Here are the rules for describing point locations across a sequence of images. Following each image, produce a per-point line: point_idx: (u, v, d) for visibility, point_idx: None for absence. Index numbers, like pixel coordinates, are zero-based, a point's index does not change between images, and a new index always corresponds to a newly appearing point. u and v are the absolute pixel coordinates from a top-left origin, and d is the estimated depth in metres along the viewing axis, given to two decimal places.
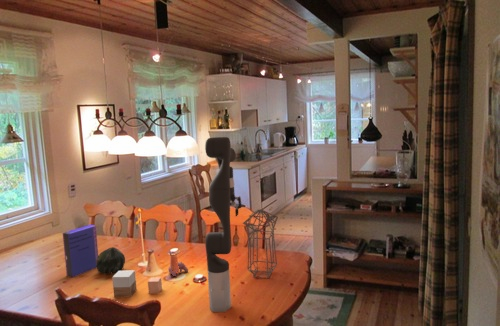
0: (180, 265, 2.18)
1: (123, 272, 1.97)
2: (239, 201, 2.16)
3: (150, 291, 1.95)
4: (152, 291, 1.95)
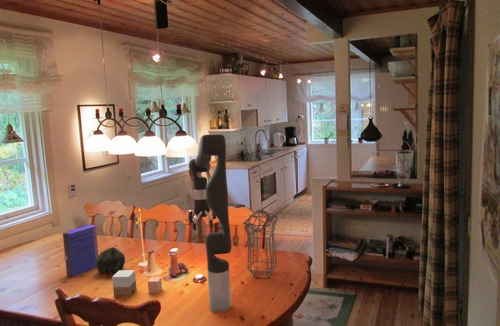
0: (180, 265, 2.18)
1: (123, 272, 1.97)
2: (214, 212, 2.11)
3: (150, 291, 1.95)
4: (152, 291, 1.95)
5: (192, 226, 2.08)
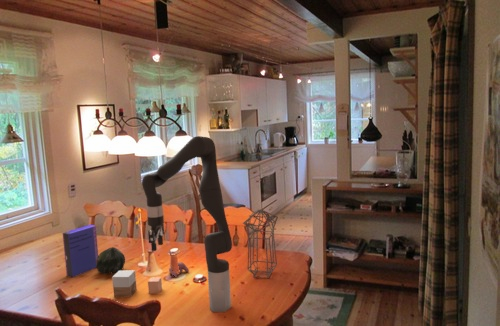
0: (181, 265, 2.18)
1: (123, 272, 1.97)
2: (163, 227, 2.02)
3: (150, 291, 1.95)
4: (152, 291, 1.95)
5: (152, 247, 1.91)
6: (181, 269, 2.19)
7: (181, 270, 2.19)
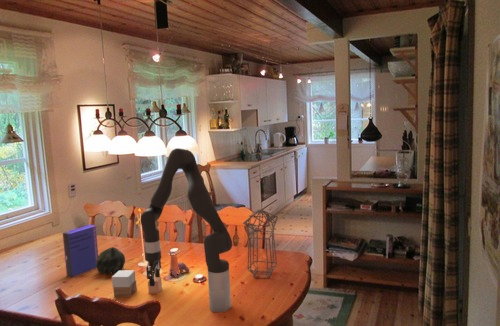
0: (181, 265, 2.18)
1: (123, 272, 1.97)
2: (160, 261, 2.02)
3: (150, 291, 1.95)
4: (152, 291, 1.95)
5: (150, 282, 1.92)
6: (182, 269, 2.19)
7: (182, 270, 2.19)
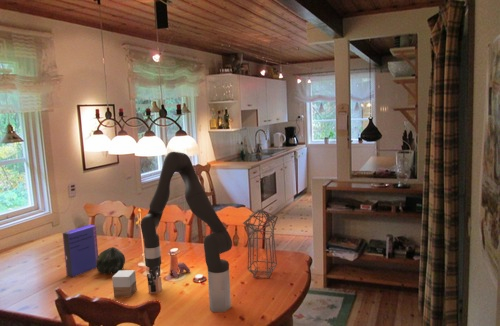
0: (182, 265, 2.18)
1: (123, 272, 1.97)
2: None
3: (150, 291, 1.95)
4: None
5: (151, 288, 1.93)
6: (182, 269, 2.19)
7: (182, 270, 2.18)
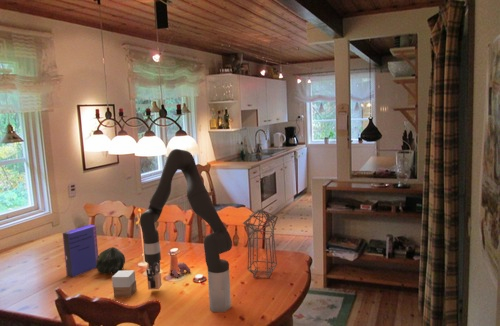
0: (182, 265, 2.18)
1: (123, 272, 1.97)
2: (159, 265, 2.01)
3: (150, 287, 1.94)
4: None
5: (151, 284, 1.93)
6: (183, 269, 2.19)
7: (183, 270, 2.18)
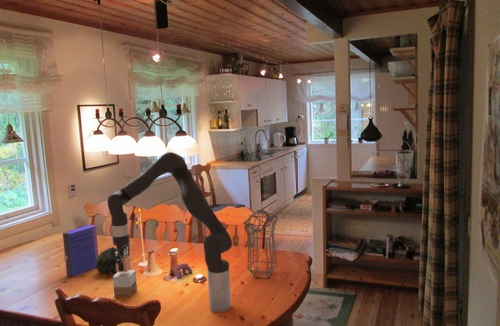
0: (184, 266, 2.17)
1: (124, 272, 1.97)
2: (129, 248, 2.00)
3: (118, 270, 1.93)
4: None
5: (119, 267, 1.91)
6: (184, 270, 2.18)
7: (184, 271, 2.18)
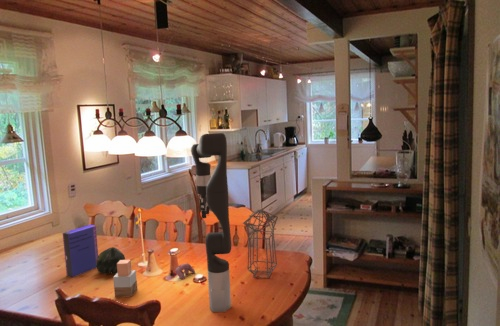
0: (187, 266, 2.16)
1: None
2: None
3: (119, 273, 1.92)
4: (121, 273, 1.92)
5: (202, 214, 1.99)
6: (187, 270, 2.17)
7: (187, 271, 2.17)
